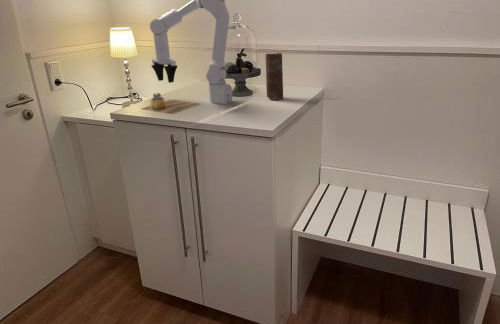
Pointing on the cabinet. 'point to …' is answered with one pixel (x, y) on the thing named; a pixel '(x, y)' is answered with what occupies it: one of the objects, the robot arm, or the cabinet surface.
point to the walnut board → (173, 106)
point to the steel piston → (157, 96)
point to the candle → (274, 76)
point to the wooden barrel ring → (157, 103)
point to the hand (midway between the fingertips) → (166, 81)
